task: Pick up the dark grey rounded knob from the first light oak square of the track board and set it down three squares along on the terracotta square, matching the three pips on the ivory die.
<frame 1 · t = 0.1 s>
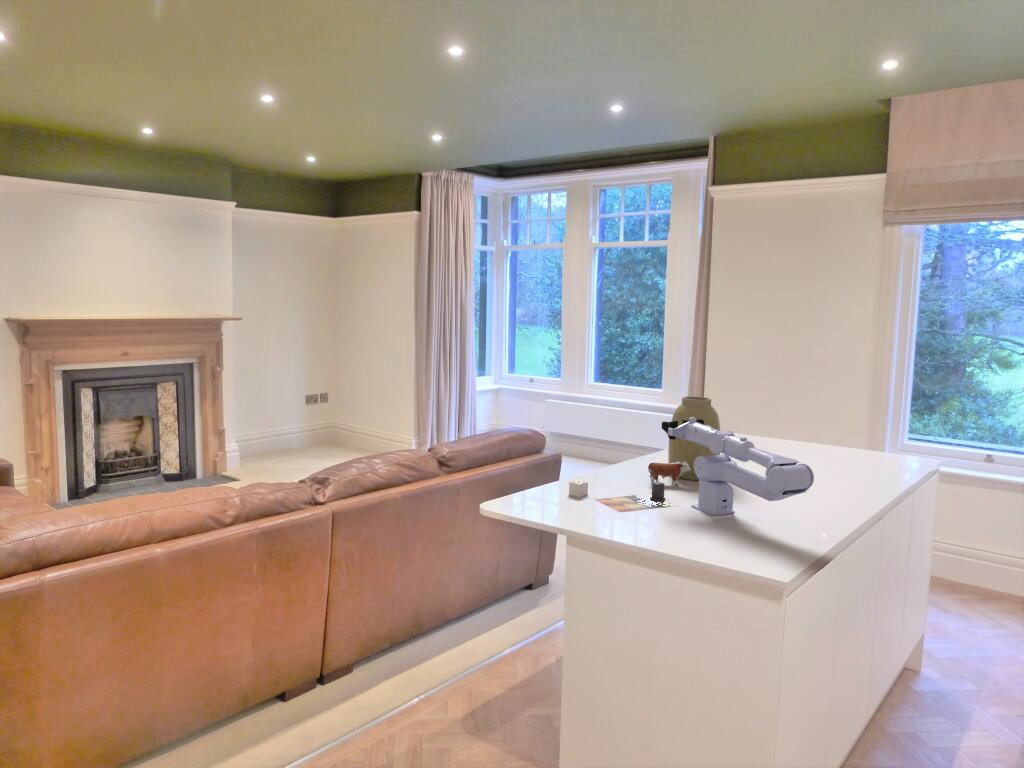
hand: (672, 424, 216), 22 cm above the countertop, tool horizontal, fingers open, 7 cm apart
dark grey rounded knob: (657, 500, 209), resting on track board
vase: (692, 476, 242), on the countertop
track board: (636, 503, 206), on the countertop
die: (578, 495, 214), on the countertop
bull figurine: (668, 485, 229), on the countertop
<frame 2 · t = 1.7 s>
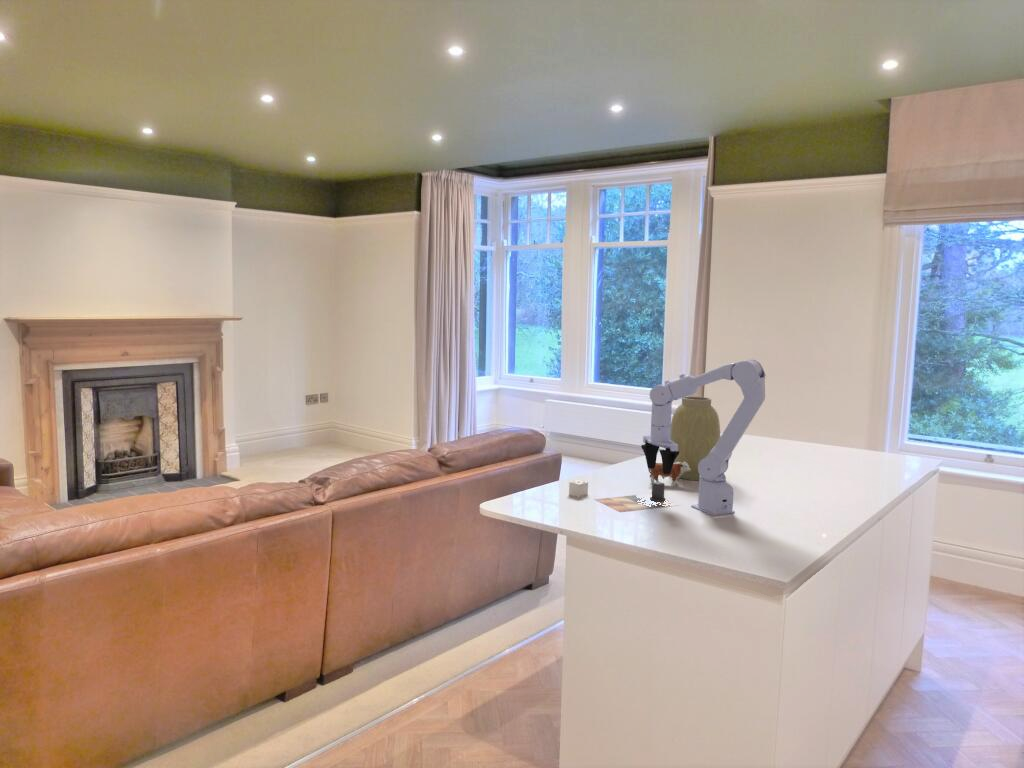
hand: (658, 470, 208), 9 cm above the countertop, tool pointing down, fingers open, 7 cm apart
nothing on the countertop moved.
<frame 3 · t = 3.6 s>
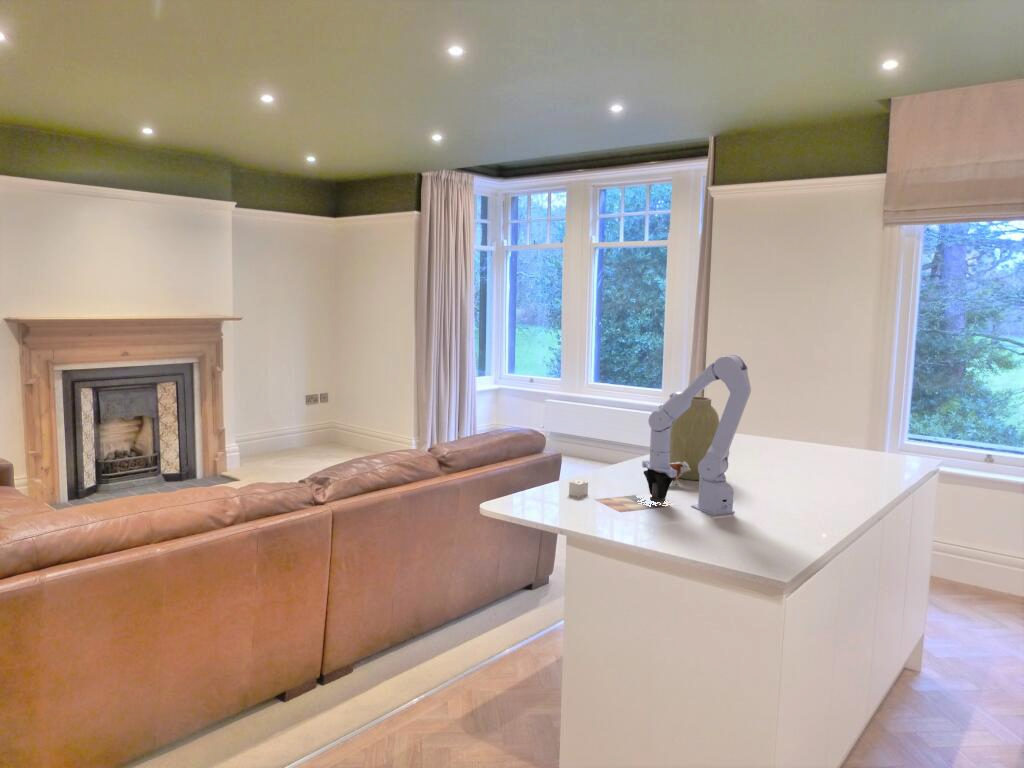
hand: (657, 496, 209), 1 cm above the countertop, tool pointing down, fingers closed on dark grey rounded knob, 4 cm apart
dark grey rounded knob: (657, 500, 209), resting on track board, touching gripper
everything else where it was.
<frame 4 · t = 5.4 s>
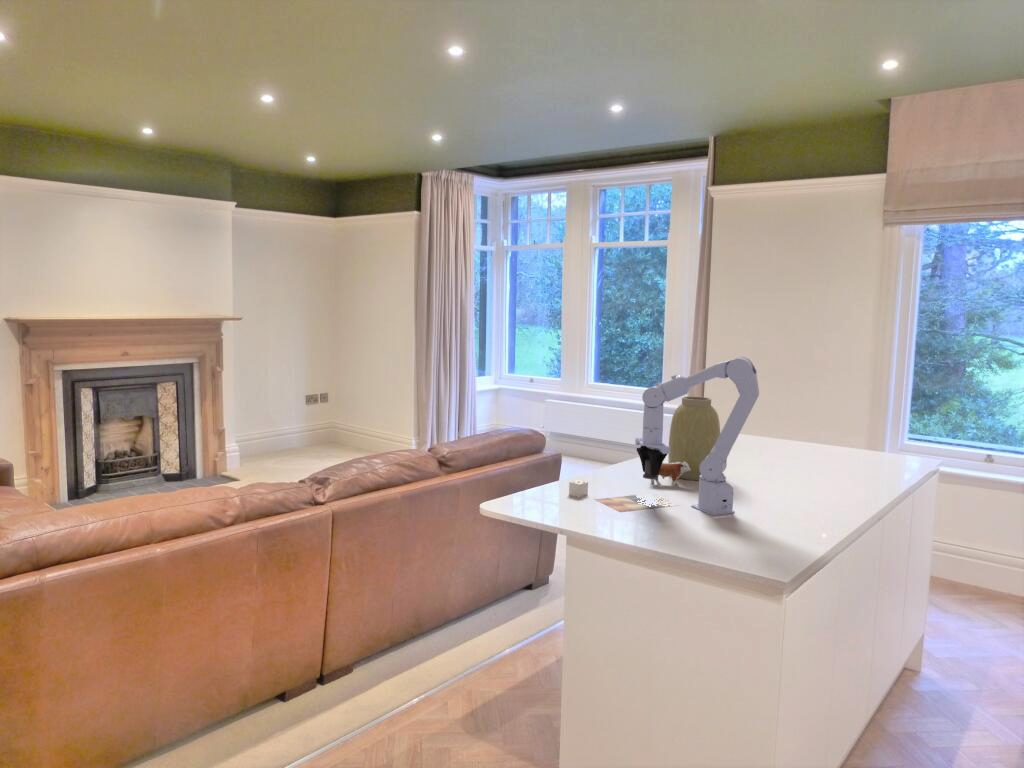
hand: (650, 473, 207), 8 cm above the countertop, tool pointing down, fingers closed on dark grey rounded knob, 4 cm apart
dark grey rounded knob: (650, 477, 207), point 7 cm above the countertop, touching gripper
everything else where it was.
when the fingers open (3 cm above the countertop, at t = 7.7 s): dark grey rounded knob drops 2 cm, resting on track board.
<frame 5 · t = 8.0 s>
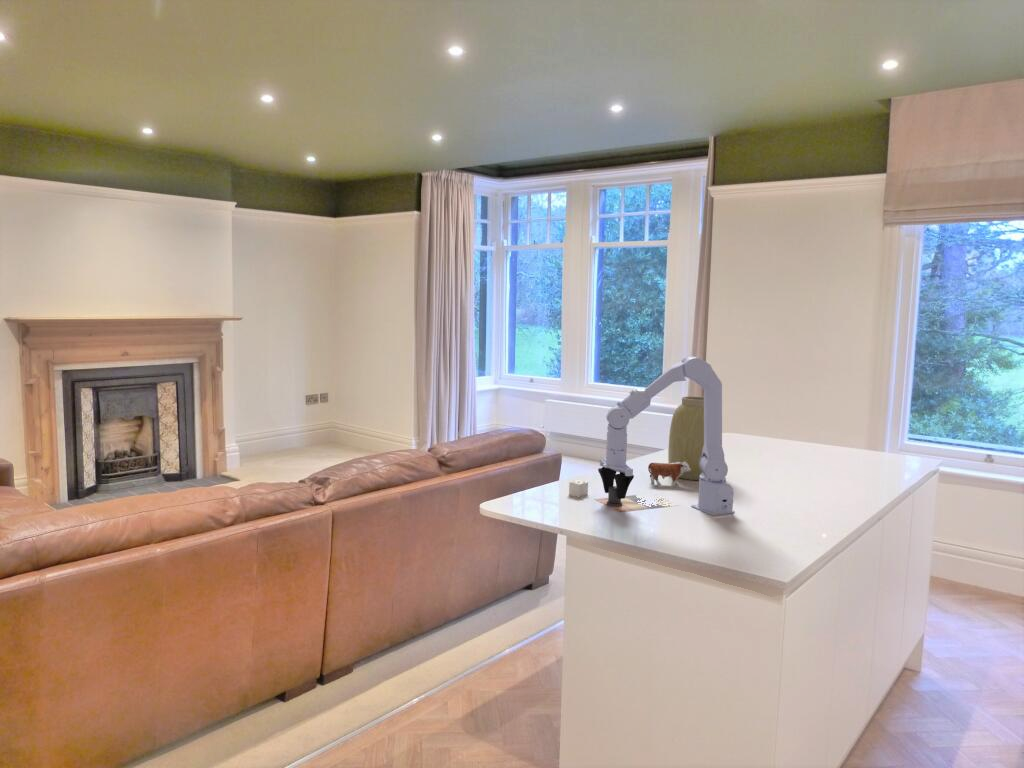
hand: (614, 495, 202), 3 cm above the countertop, tool pointing down, fingers open, 6 cm apart
dark grey rounded knob: (614, 504, 203), resting on track board
everything else where it was.
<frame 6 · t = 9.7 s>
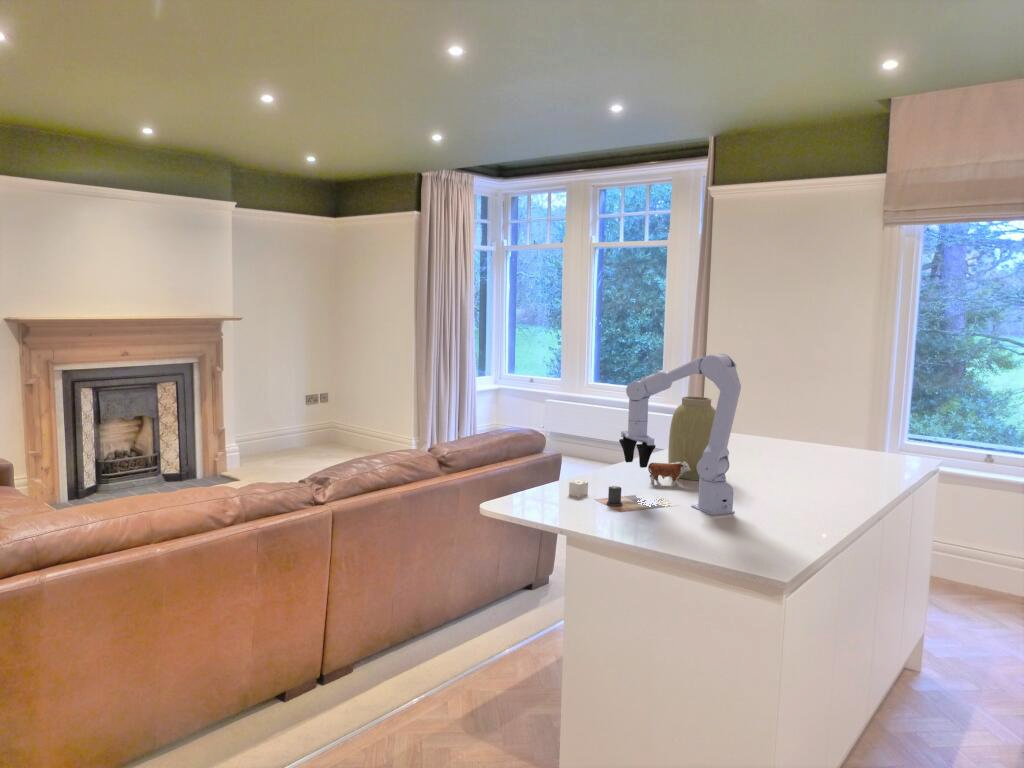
hand: (636, 464, 214), 9 cm above the countertop, tool pointing down, fingers open, 7 cm apart
nothing on the countertop moved.
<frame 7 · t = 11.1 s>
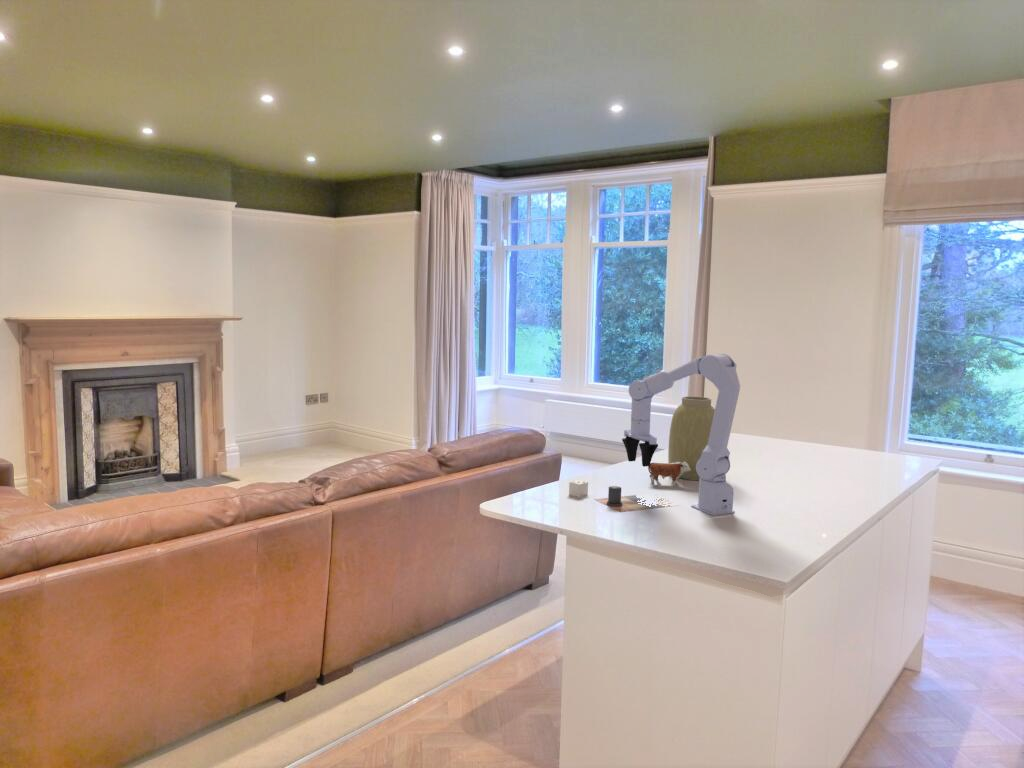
hand: (638, 463, 216), 9 cm above the countertop, tool pointing down, fingers open, 7 cm apart
nothing on the countertop moved.
at the end: dark grey rounded knob 0.0 cm from the target spot on the track board, point 0.2 cm above the track board's base; dark grey rounded knob tilted 0°; the gripper is holding nothing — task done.
